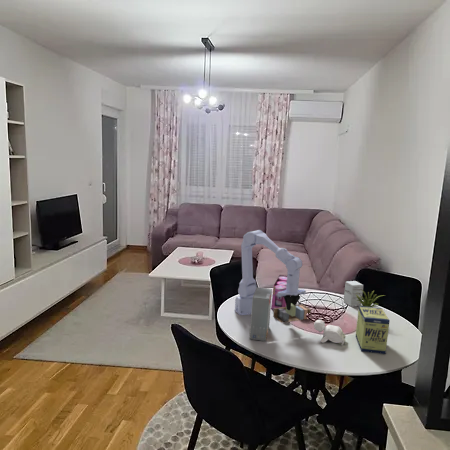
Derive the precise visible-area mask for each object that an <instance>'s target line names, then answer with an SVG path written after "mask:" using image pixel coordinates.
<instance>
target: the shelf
mask: <svg viewBox="0 0 450 450" xmlns="http://www.w3.org/2000/svg"><path fill="white" fill-rule="evenodd" d="M300 305H302V306H303V307H305V308H306V309H308V314H309V313H311V311H312V309H311V308H309V307H308V306H306V305H304V304H303V303H300V304H299V305H297V306H300ZM282 308H283V309H285V310H286V307H281V308H274V309H273V315H272V316H273V317H274V319H276V320H277V321H278V322H280V323H281V324H283V323H284V322H283V321H282V320H280V319H279V318H278V309H282ZM311 314H312V313H311ZM304 320H307V319H302V320H300V319H299V318H297V317H296V316H291V315H289V321H287V322H286V323H288V322H289V323H290V322H295V321H296V322H298V321H304Z"/></svg>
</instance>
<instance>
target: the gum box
mask: <svg viewBox="0 0 450 450" xmlns="http://www.w3.org/2000/svg"><path fill="white" fill-rule="evenodd" d="M286 285H287V275H283V274H279V275H278V277H277V278H276V281H274V284H273V286H272V297H271V310H274V308H281V307H286V302H285V299H284V297H283V296H281V297H279V296H278V292H280V291H284V290H286ZM290 296H291V295H290Z"/></svg>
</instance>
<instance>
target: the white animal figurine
mask: <svg viewBox="0 0 450 450" xmlns="http://www.w3.org/2000/svg"><path fill="white" fill-rule="evenodd" d="M313 327H314V330H315V331H317V332H319V333H322V332H323V334H322V336H323V337H322V338H321V341H320V342H321V343H322V344H325V343H326V342H327V341H330V342H331V343H337V344H341V346H343V345H344V344H345V342H346V340H345V339H346V337H347V335H346V334H345V333H344V331H343V329H342V328H341V327H340V326H339V325H332V324H327V325H326V323H325V321H323V320H322V319H317V320H315V321H314V323H313Z"/></svg>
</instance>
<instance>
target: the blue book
mask: <svg viewBox="0 0 450 450" xmlns="http://www.w3.org/2000/svg"><path fill="white" fill-rule="evenodd" d="M295 316H296V317H297V318H299V319H300V320H299V321H303V320H302V319H303V318H304V310H303V309H302V308H300V307H299V306H298V305H296V312H295Z"/></svg>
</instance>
